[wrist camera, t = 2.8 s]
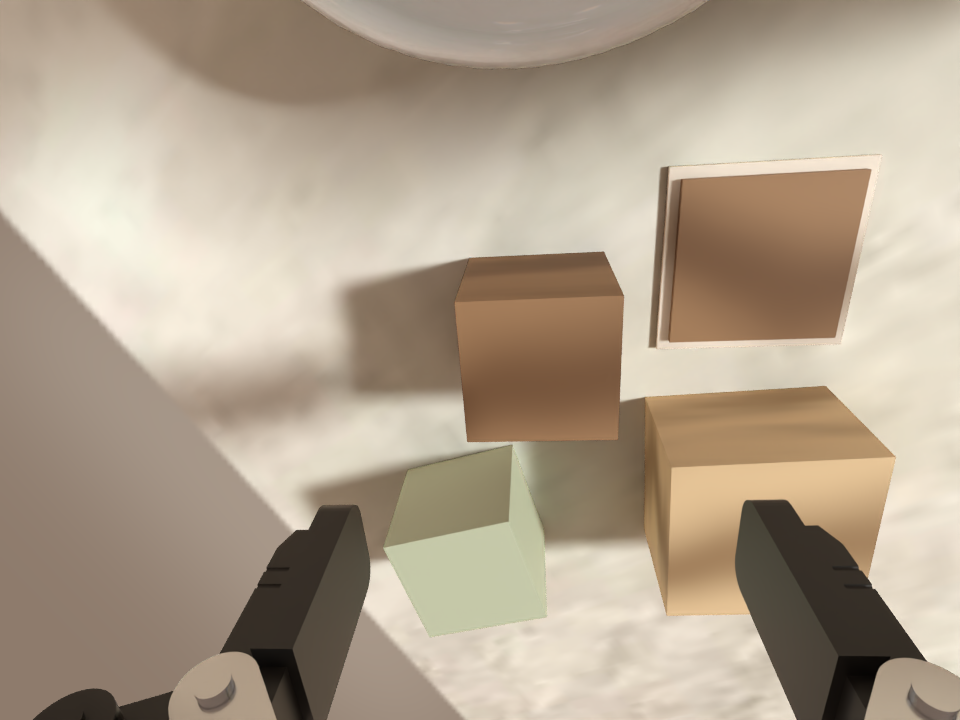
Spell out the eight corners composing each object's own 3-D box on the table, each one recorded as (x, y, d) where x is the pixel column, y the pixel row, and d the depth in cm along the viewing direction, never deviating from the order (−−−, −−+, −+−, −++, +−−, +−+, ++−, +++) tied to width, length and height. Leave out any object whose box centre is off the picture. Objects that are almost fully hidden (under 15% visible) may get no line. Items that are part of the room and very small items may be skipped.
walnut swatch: (668, 166, 20) (671, 168, 19) (879, 154, 19) (887, 156, 19) (655, 347, 23) (658, 352, 22) (837, 341, 22) (844, 347, 21)
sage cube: (408, 468, 26) (382, 547, 22) (512, 443, 25) (508, 521, 21) (445, 549, 28) (429, 637, 24) (544, 529, 27) (547, 617, 23)
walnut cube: (469, 257, 22) (454, 302, 17) (603, 251, 21) (623, 295, 17) (478, 374, 24) (467, 441, 19) (600, 371, 23) (617, 439, 19)
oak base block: (644, 395, 24) (671, 467, 19) (823, 383, 23) (896, 457, 18) (643, 526, 27) (666, 615, 22) (802, 520, 26) (859, 612, 21)
